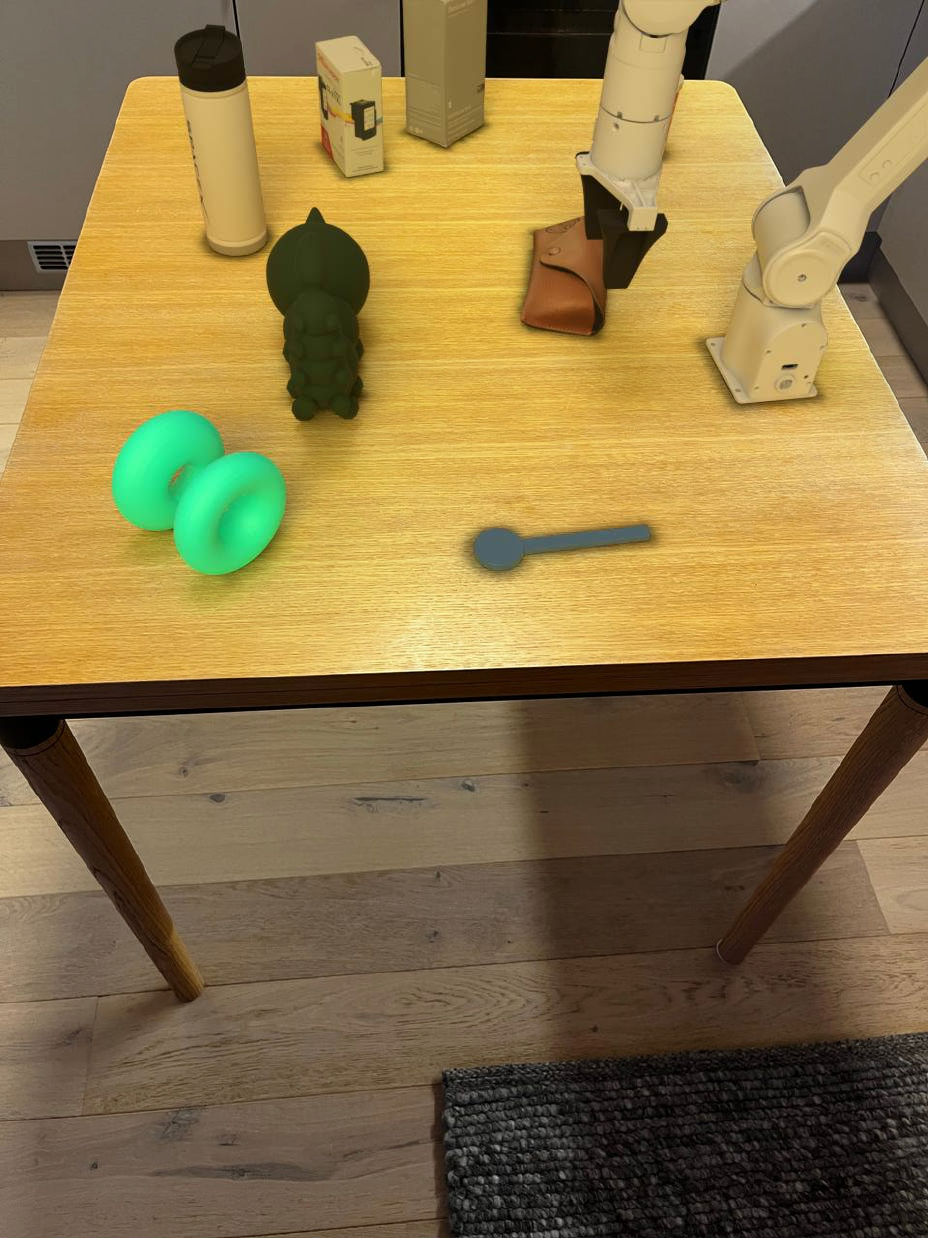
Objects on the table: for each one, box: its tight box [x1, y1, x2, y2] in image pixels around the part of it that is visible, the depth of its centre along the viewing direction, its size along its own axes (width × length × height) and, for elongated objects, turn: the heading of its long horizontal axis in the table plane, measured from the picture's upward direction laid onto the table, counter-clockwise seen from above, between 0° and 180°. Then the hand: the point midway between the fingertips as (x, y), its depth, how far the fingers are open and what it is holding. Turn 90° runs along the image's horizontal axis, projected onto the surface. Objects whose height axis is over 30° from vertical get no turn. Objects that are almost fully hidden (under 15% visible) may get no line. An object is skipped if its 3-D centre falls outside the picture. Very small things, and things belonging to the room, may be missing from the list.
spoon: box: [473, 524, 651, 572], centre depth 81 cm, size 4×14×1 cm, turn 100°
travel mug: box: [173, 23, 268, 257], centre depth 99 cm, size 6×7×20 cm
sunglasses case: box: [520, 215, 608, 337], centre depth 103 cm, size 18×7×7 cm
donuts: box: [110, 409, 287, 576], centre depth 76 cm, size 10×10×10 cm
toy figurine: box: [265, 206, 371, 422], centre depth 87 cm, size 9×19×25 cm
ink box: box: [314, 35, 385, 178], centre depth 114 cm, size 9×5×12 cm, turn 25°
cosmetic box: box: [402, 0, 488, 148], centre depth 118 cm, size 8×7×16 cm
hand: (606, 261), depth 89 cm, fingers open, 7 cm apart
